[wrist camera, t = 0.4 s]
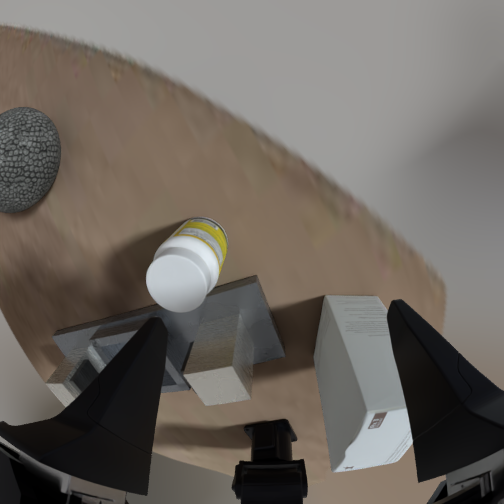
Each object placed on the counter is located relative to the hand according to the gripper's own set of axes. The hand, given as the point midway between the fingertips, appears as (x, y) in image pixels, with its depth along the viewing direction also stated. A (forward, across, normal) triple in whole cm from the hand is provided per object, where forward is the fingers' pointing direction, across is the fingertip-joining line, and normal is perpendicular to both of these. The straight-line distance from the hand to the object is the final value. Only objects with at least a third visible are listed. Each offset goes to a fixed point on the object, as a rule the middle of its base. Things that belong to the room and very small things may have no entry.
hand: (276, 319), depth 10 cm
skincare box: (+11, -7, +15) cm, 20 cm away
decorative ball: (+16, +22, -6) cm, 28 cm away
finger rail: (+10, +15, +16) cm, 24 cm away
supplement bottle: (+13, +6, +5) cm, 16 cm away
